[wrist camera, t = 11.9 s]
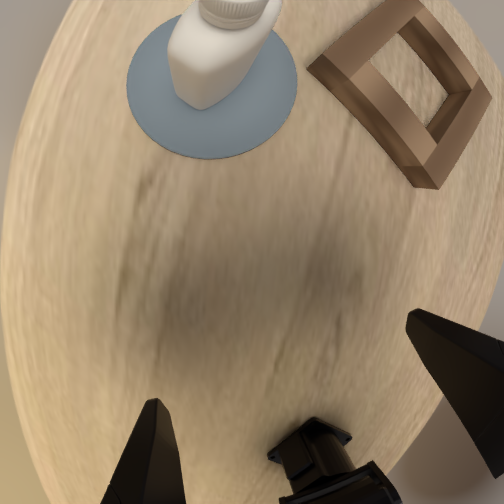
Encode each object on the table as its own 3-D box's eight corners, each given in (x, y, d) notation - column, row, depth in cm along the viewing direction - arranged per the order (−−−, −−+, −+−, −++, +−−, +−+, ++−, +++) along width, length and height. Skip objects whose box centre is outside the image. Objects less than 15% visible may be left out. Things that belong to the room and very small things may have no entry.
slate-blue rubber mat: (326, 79, 18) (328, 77, 18) (219, 194, 19) (219, 195, 18) (209, -11, 15) (209, -14, 15) (95, 93, 16) (93, 91, 16)
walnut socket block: (470, 101, 20) (492, 97, 17) (414, 187, 21) (439, 189, 18) (386, 0, 17) (405, -14, 14) (306, 69, 18) (322, 53, 15)
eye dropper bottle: (161, 61, 16) (128, -60, 4) (243, 33, 16) (298, -89, 5) (186, 118, 17) (172, 34, 6) (269, 87, 17) (361, -5, 6)
